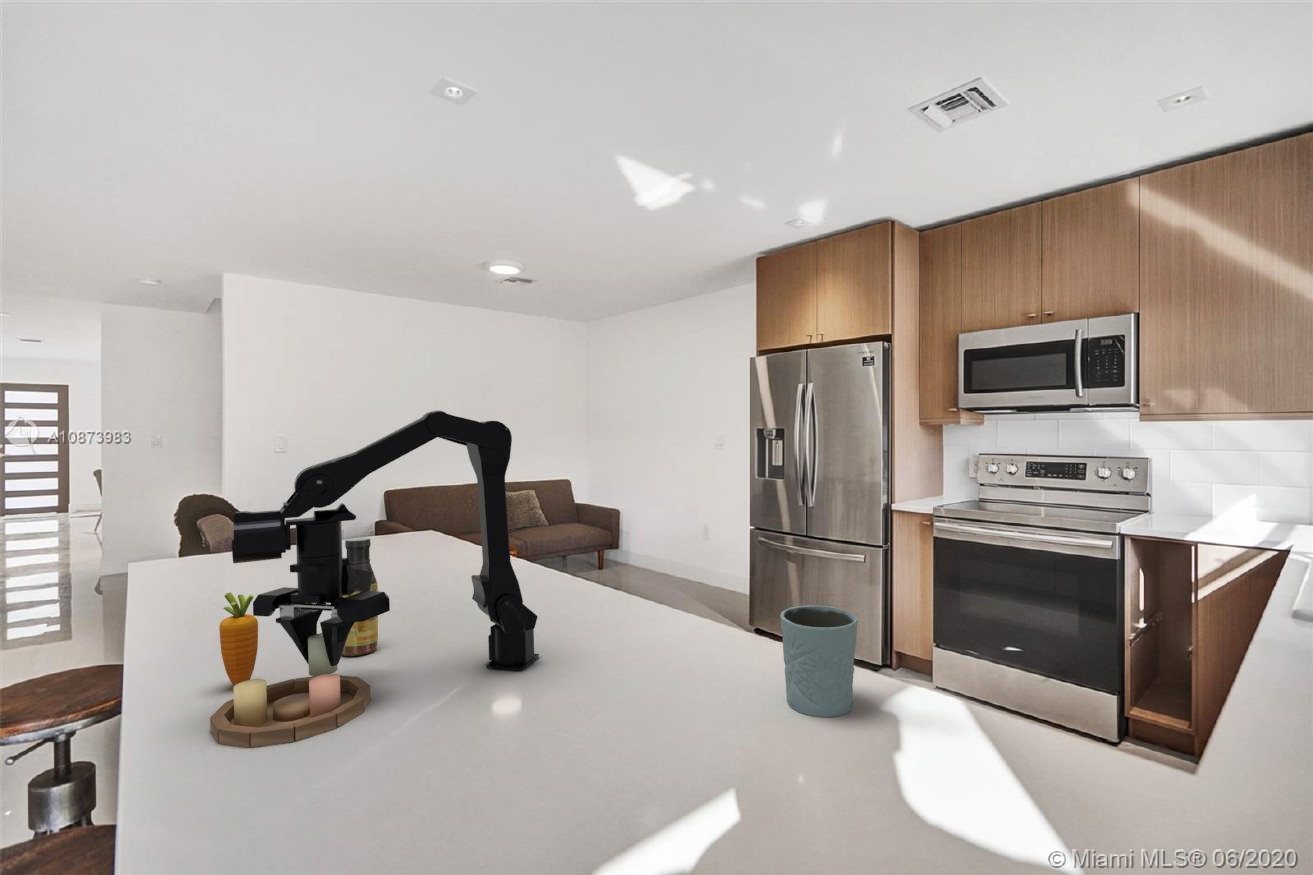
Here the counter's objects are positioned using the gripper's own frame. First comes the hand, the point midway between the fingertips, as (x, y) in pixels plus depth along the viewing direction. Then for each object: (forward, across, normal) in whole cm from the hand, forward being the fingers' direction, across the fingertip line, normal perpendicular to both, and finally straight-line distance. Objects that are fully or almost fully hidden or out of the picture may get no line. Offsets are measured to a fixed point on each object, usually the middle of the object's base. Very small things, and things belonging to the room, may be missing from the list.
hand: (323, 664), depth 90 cm
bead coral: (+5, -5, +5) cm, 8 cm away
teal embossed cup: (+6, -68, -14) cm, 70 cm away
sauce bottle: (+6, +11, -20) cm, 23 cm away
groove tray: (+6, 0, +5) cm, 8 cm away
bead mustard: (+5, +4, +9) cm, 10 cm away
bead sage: (+1, 0, 0) cm, 1 cm away
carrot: (+6, +16, -1) cm, 17 cm away
